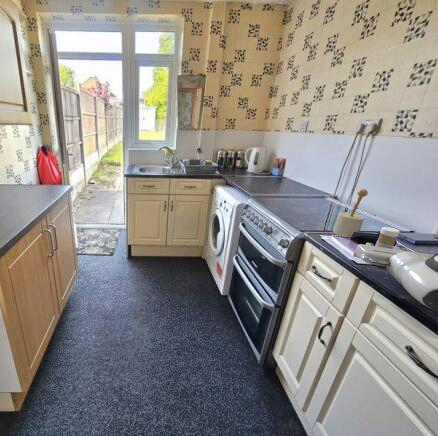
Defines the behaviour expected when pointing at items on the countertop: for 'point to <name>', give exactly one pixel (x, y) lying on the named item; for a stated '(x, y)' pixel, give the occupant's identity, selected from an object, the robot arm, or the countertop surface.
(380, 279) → the countertop surface
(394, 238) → the sprinkles bottle
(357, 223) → the utensil crock
